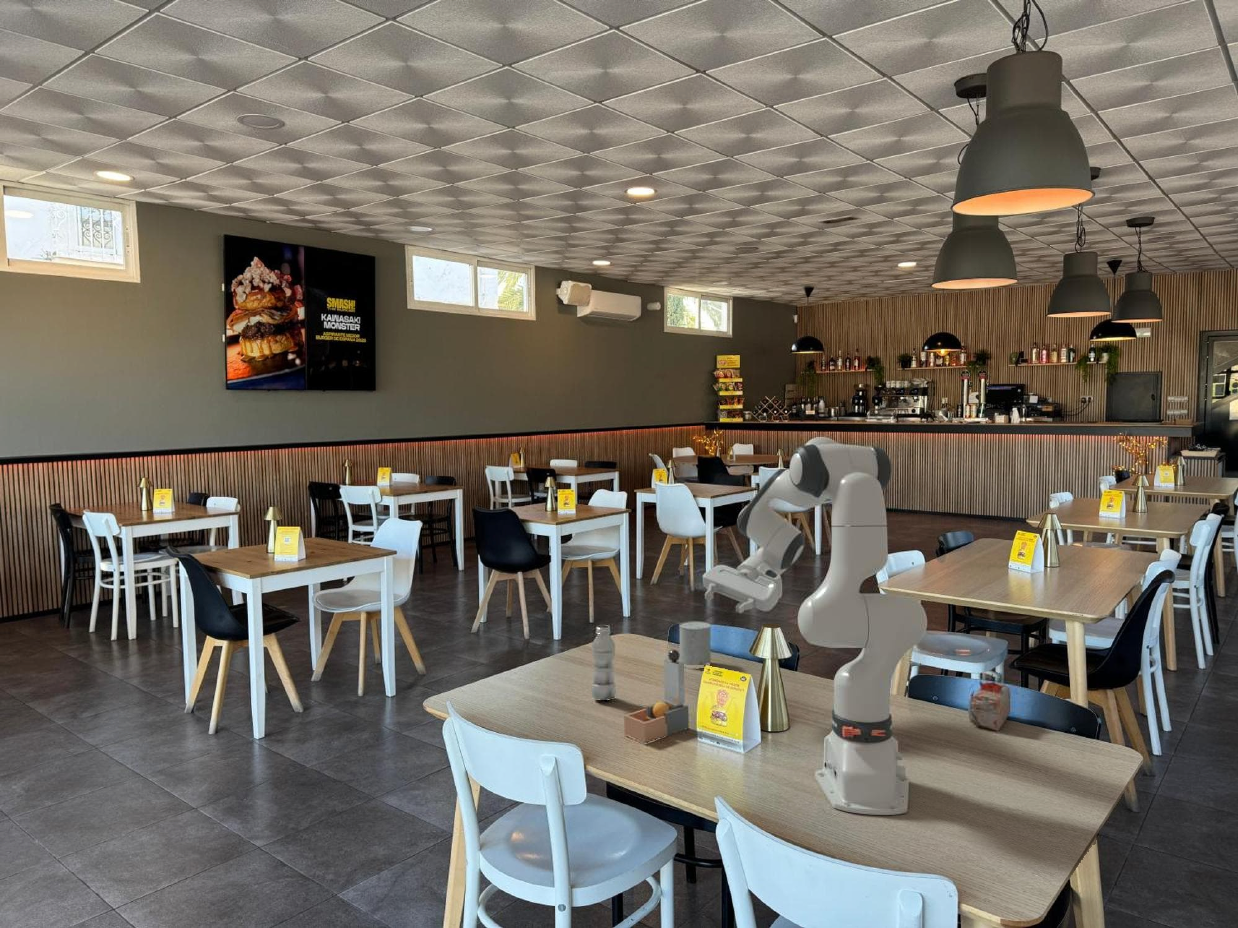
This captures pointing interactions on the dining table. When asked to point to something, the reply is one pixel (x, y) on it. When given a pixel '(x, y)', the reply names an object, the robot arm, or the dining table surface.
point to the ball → (660, 709)
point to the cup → (644, 726)
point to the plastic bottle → (603, 664)
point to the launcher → (673, 718)
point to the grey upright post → (674, 681)
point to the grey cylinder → (695, 643)
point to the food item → (990, 705)
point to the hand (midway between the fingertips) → (722, 603)
